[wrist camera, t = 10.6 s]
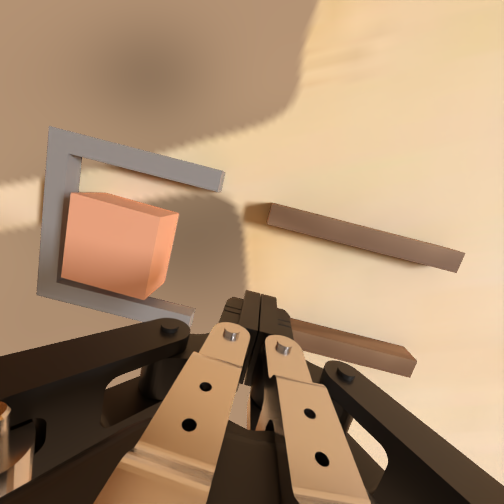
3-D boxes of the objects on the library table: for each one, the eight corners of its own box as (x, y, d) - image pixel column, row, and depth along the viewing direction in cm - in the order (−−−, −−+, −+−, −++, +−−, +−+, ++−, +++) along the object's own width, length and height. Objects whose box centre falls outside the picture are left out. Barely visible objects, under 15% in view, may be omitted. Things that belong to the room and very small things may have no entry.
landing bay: (64, 130, 20) (49, 125, 19) (225, 172, 20) (222, 170, 19) (51, 288, 23) (36, 295, 21) (191, 324, 23) (187, 333, 22)
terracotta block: (106, 192, 21) (70, 192, 17) (179, 213, 21) (160, 217, 17) (96, 262, 22) (60, 277, 19) (165, 281, 23) (144, 300, 19)
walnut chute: (271, 202, 20) (272, 203, 19) (446, 247, 21) (465, 253, 19) (240, 322, 23) (237, 334, 21) (397, 361, 23) (410, 377, 21)
